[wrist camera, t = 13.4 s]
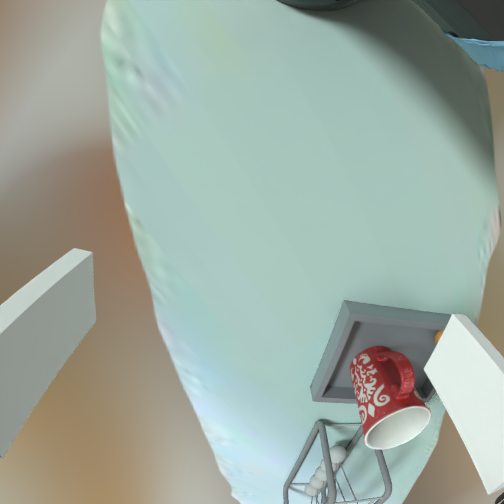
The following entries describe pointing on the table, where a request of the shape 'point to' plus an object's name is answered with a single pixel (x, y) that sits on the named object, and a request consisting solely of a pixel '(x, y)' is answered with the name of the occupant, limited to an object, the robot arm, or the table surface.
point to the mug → (387, 398)
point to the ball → (438, 336)
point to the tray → (375, 334)
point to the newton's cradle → (334, 468)
